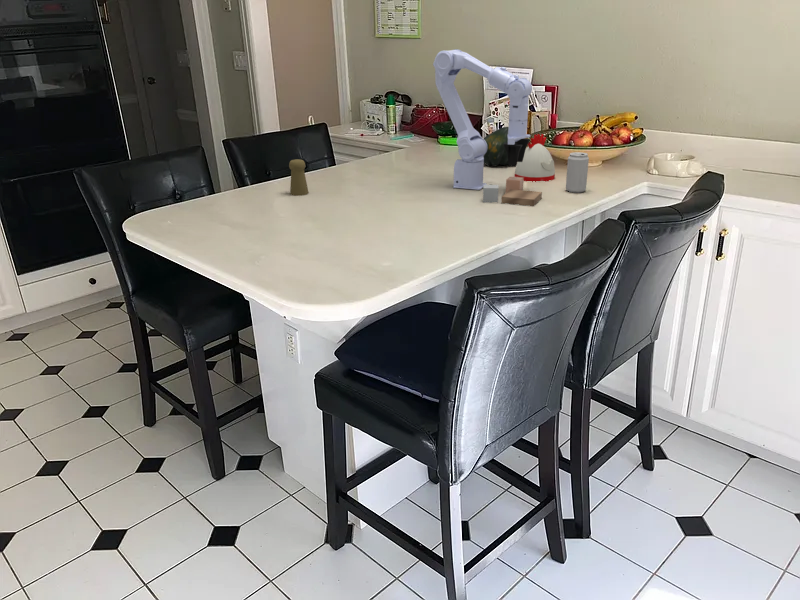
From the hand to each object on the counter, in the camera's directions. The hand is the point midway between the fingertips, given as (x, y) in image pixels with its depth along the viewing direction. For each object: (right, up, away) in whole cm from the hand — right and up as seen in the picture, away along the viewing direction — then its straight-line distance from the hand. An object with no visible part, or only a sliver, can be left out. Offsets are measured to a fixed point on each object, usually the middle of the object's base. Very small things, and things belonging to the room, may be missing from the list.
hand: (515, 164), depth 208 cm
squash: (+1, +9, +44) cm, 44 cm away
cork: (-70, -8, +7) cm, 71 cm away
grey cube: (-9, -13, -6) cm, 16 cm away
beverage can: (+20, -8, +3) cm, 22 cm away
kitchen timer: (+11, 0, +22) cm, 25 cm away
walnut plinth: (+1, -13, -7) cm, 14 cm away
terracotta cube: (0, -8, +4) cm, 9 cm away
